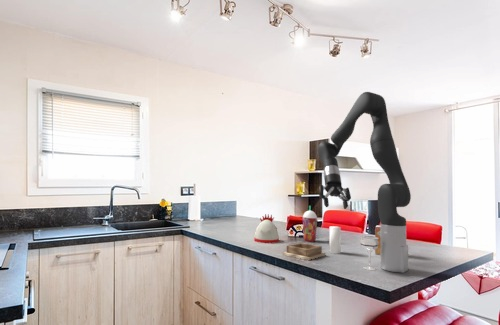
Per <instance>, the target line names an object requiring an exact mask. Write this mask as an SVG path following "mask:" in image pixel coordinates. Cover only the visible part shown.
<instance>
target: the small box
mask: <svg viewBox="0 0 500 325" xmlns="http://www.w3.org/2000/svg"><path fill="white" fill-rule="evenodd" d="M374 228H375V229H374V237H377V238H378V242H379V245H378V247H377V248H376V249H375V250H374V254H375V255H380V256H381V225H379V224H378V225H376V226H375V227H374Z"/></svg>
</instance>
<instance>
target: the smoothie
mask: <svg viewBox="0 0 500 325" xmlns="http://www.w3.org/2000/svg"><path fill="white" fill-rule="evenodd" d="M308 208H309V209H308V210H306V211H304V213H303V215H302V230H303V231H302V236H303V239H304V241H305V242H308V243H314V242H315V241H316V239H317V227H318V226H317V225H318V216H317V214H316V212H315V211H313V210H311V205H309V206H308Z"/></svg>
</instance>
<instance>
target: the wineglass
mask: <svg viewBox="0 0 500 325" xmlns="http://www.w3.org/2000/svg"><path fill="white" fill-rule="evenodd" d="M360 238H361V239H360V246H361V247H362V248H363V249H364V250H365V251H366V252H368V265H367V266H363V267H362V269H364V270H367V271H377V268H376V267H372V266H371V253H372V252H373V251H375V249H376V248H377V247H378V245H379V242H378V238H377V237H375V236H372V235H370V236H369V235H362V236H360Z"/></svg>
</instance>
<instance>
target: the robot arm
mask: <svg viewBox="0 0 500 325" xmlns="http://www.w3.org/2000/svg"><path fill="white" fill-rule="evenodd" d="M363 114H367V115H370V118H371V121H372V124H373V126H372V127H373V128H372V132H371V135H370V139H369V141H370V149H371V153H372V156H373V159H374V160H375V161H376V163H377V164H378V166H380V168H381V169H382V170H383V171H384V173H385V174H386V176H387V178H388V181H389V183H384V184H381V185H380V186H379V188H378V191H377V208H378V209H377V210H378V211H377V212H378V218H379V220H380V221H379V222H380V225H379V226H381V255H380V268H381V269H382V270H384V271H387V272H393V273H403V274H404V273H406V272H407V271H409V245H408V244H407V219H406V217H404V216H403V215H400V214H399V212H398V209H397V208H406V207H407V206H408V205H409V204H410V202H411V196H412V195H411V190H410V188H409V185H408V182H407V179H406V177H405V175H404V172H403V169H402V167H401V163H400V160H399V156H398V152H397V147H396V144H395V141H394V138H393V135H392V131H391V126H390V122H389V117H388V110H387V103H386V100H385V97H383V96H382V95H380V94H378V93H374V92H371V91H365V92H363V93H361V94H360V95H359V96H358V98H357V99H356V101H355V102H354V103H353V105H352V107H351V108H350V110H349V112H348V113H347V115H346V116H345V119H344V120H343V122H342V123H341V124H340V125H339V127H338V128H336V130H335V131H334V132H333V133H332V134H331V136H330V140H331V142H332V143H331V142H328V141H324V140H323V141H321V142H320V143H319V144H318V147H317V152H318V156H319V158H320V160H321V163H322V165H323V166H322V167H323V178H324V185H323V184H320V186H319V187H318V197H319V199H322V200H323V204H324V206H325V208H329V206H330V204H329V196H330V197H336V198H337V197H338V198H339V199H340V200H341V201H342V206H343V209H344V210H347V209H348V206H349V205H348V203H349V202H350V200H351V199H352V196H351V195H352V194H351V192H350V188H349V187H346V188H345V187H344V188H343V183H342V177H341V172H340V168H339V163H338V160H337V156H339V154H340V152H341V149H342V148H343V146H344V144H345V143H346V142H347V141H348V140H349V138H350V137H351V136H352V135H353V133H354V130H355V125H356V123H357V121H358V120H359V118H360V117H362V116H363ZM324 190H325V192H326V194H324Z"/></svg>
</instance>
